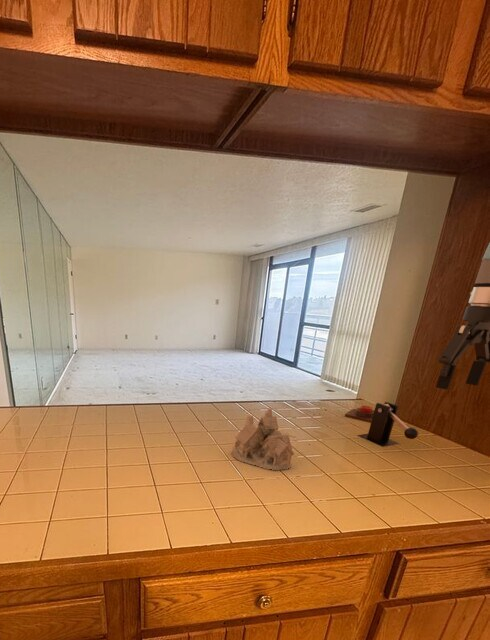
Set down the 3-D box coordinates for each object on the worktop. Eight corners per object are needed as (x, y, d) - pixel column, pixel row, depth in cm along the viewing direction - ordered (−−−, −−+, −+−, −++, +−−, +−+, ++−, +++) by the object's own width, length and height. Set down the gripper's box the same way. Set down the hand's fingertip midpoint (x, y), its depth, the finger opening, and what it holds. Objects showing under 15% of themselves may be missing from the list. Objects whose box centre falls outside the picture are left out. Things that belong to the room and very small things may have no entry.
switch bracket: (398, 446, 117) (410, 407, 112) (381, 449, 114) (393, 410, 109) (372, 435, 126) (382, 399, 120) (356, 438, 123) (365, 401, 117)
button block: (383, 420, 141) (385, 411, 139) (376, 426, 134) (379, 417, 132) (351, 413, 148) (353, 404, 147) (344, 418, 141) (346, 409, 140)
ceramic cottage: (227, 447, 112) (234, 404, 105) (275, 448, 114) (285, 406, 107) (241, 474, 98) (251, 426, 92) (296, 474, 100) (309, 427, 93)
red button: (372, 411, 140) (373, 407, 139) (369, 413, 137) (370, 409, 136) (361, 409, 142) (362, 405, 142) (358, 411, 139) (359, 407, 139)
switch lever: (415, 440, 109) (423, 432, 107) (407, 442, 108) (415, 434, 106) (383, 410, 118) (390, 402, 115) (376, 411, 117) (382, 403, 114)
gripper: (496, 305, 96) (468, 379, 104) (439, 304, 87) (414, 386, 95) (530, 306, 90) (498, 386, 98) (473, 306, 81) (443, 393, 89)
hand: (456, 386), depth 97 cm, fingers open, 13 cm apart
